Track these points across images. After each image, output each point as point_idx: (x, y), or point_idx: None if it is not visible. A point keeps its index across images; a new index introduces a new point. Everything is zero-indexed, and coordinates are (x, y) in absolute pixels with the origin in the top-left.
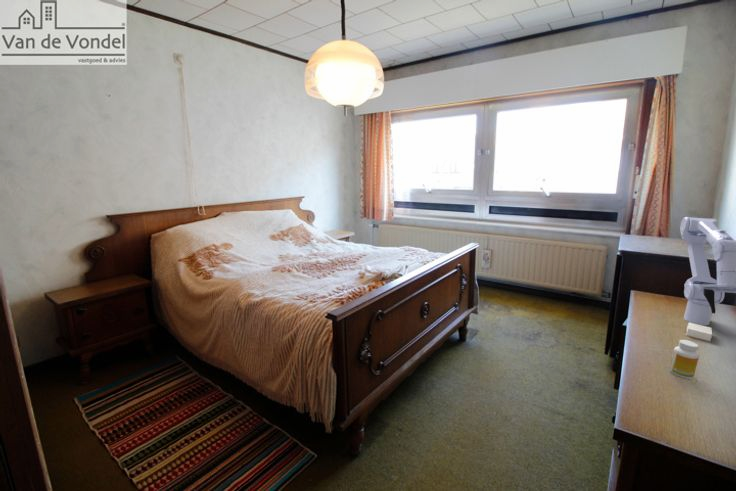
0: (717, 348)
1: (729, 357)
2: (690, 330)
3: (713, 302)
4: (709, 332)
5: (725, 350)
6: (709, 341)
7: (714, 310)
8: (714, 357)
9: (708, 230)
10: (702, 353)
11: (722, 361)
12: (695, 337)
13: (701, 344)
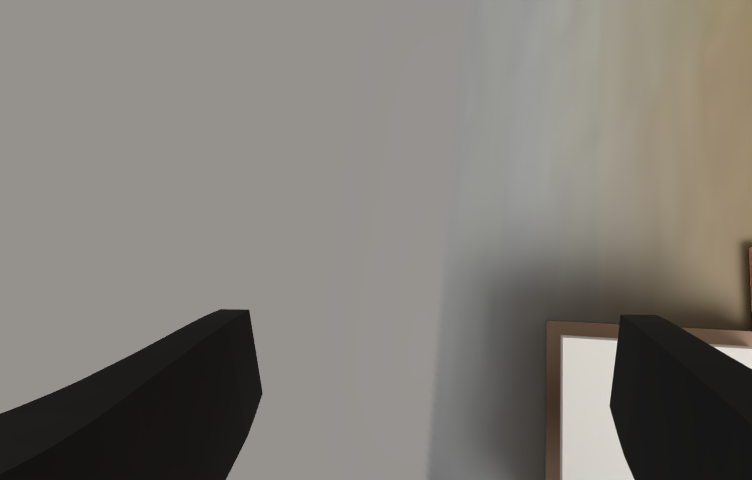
0: (509, 294)
1: (451, 175)
2: (747, 348)
3: (743, 401)
4: (582, 386)
5: (463, 295)
6: (565, 326)
7: (644, 321)
8: (535, 93)
9: None
10: (605, 101)
11: (494, 65)
12: None
13: (612, 292)
